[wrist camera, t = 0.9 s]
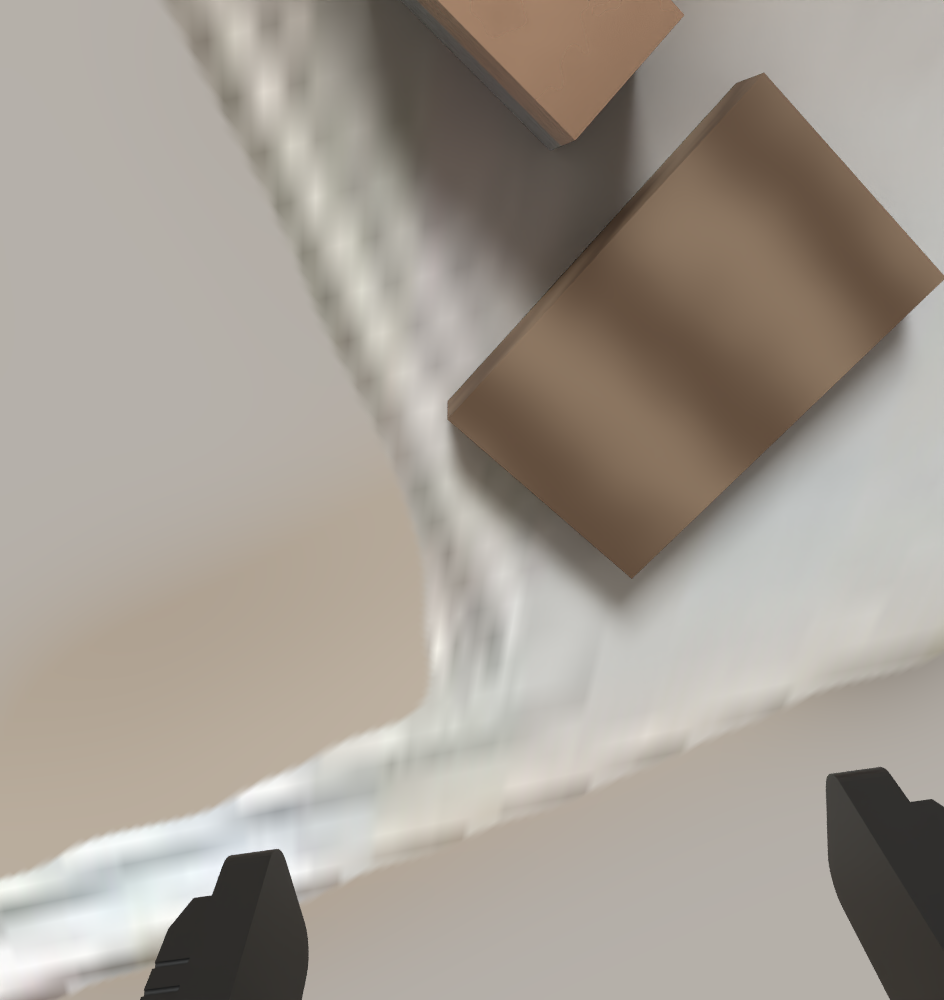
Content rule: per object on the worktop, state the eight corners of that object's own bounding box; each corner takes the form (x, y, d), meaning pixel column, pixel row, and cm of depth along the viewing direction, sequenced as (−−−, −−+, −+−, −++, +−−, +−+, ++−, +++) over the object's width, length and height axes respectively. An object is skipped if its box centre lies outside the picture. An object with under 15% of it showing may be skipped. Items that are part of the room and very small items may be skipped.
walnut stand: (736, 83, 32) (764, 72, 29) (904, 270, 34) (945, 277, 31) (447, 401, 36) (447, 419, 33) (618, 550, 38) (631, 578, 35)
